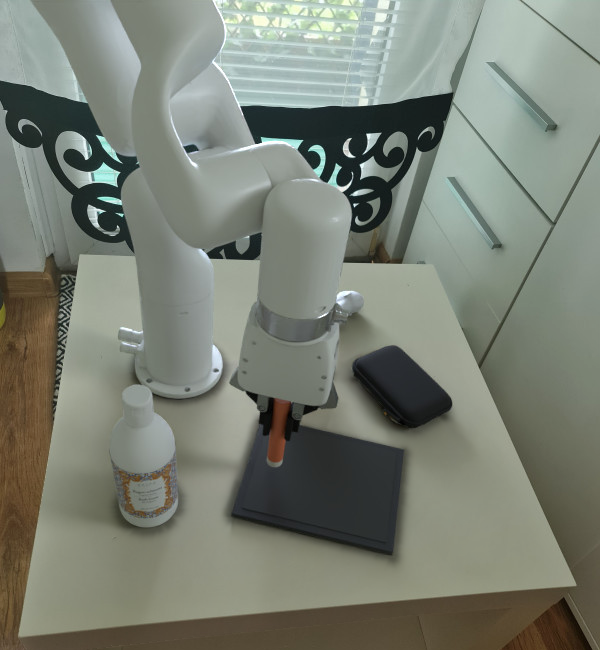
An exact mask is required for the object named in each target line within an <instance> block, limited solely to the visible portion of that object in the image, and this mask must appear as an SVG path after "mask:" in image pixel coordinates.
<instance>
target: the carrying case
mask: <svg viewBox="0 0 600 650" xmlns="http://www.w3.org/2000/svg"><path fill="white" fill-rule="evenodd" d="M351 371H352V374H353V376H354V377H355V378H356V380H358V381H359V383H360V384H361V385H362V386H363V387H364V388H365V389H366V390H367V391H368V393H370V394H371V395H372V396H373V398H374V399H375V400H376V401H377V402H378V403H379V404H380V405H381V406H382V407H383V408H384V409H382V414H383V415H384V416H385V417H386V418H387V419H389V420H391V421H393V422H394V423H396V424H397V425H401V426H403V427H406V428H409V429H413V428H414V429H416V428H417V429H418V428H420V427H422V426H423V425H425V424H427V423H430V422H431V421H434V420H435V419H437V418H439V417H441V416H443V415H445V414H446V413H449V412H450V411H451V410H452V408H453V399H452V397H451V396H450V394H449V393H448V392H447V391H446V390H445V389H444V388H443V386H441V385H440V384H439V383H438V382H437V381H436V380H435V379H434V378H433V377H432V376H431V375H429V373H428V372H427V371H426V370H425V369H423V367H422V366H420V365H419V364H418V363H417V362H416V361H415V360H414V359H413V358H412V357H411V356H410V355H409V354H408V353H407V352H405V350H403V349H402V348H401V347H399V346H398V345H395V344H391V345H386V346H383V347H380V348H379V349H376V350H374V351H371V352H369V353H366V354H364V355H362V356H360V357H357V358H356V359H354V361H353V362H352V365H351Z"/></svg>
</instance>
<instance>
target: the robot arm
mask: <svg viewBox="0 0 600 650" xmlns="http://www.w3.org/2000/svg"><path fill="white" fill-rule="evenodd" d="M29 1H30V3H31V4H32V5H33V7H34V8H35V9H36V11H37V12H38V14H39V15H40V16H41V18H42V19H43V20H44V22H45V23H46V24H47V26H48V27H49V28H50V30H51V31H52V33H53V35H54V36H55V37H56V39H57V40H58V42H59V44H60V46H61V48H62V49H63V52H64V54H65V56H66V58H67V60H68V63H69V65H70V68H71V69H72V72H73V74H74V76H75V78H76V81H77V83H78V85H79V87H80V89H81V92H82V95H83V96H84V98H85V101H86V103H87V105H88V107H89V110H90V112H91V113H92V116H93V118H94V120H95V122H96V125H97V127H98V129H99V130H100V132H101V135H102V136H103V138H104V139H105V141H106V143H107V144H108V145H109V147H110V148H111V149H112V150H113V151H114V152H115V153H116V154H118V155H120V156H123V157H136V159H137V163H138V165H139V167H138V168H136V169H135V170H133V171H132V172H130V173H129V174H128V175H127V177H126V178H125V180H124V182H123V184H122V186H121V191H120V200H121V207H122V212H123V215H124V218H125V221H126V224H127V225H126V226H127V228H128V232H129V235H130V238H131V242H132V247H133V253H134V258H135V265H136V273H137V274H136V275H137V285H138V295H139V306H140V317H141V326H142V330H141V332H140V331H136V330H134V329H131V328H127V327H123V326H122V327H119V330H118V332H117V339H118V341H121V343H120V345H119V352H122V353H125V354H132V355H135V358H134V371H135V375H136V378H137V380H138V382H139V383H140V385H144V386H146V387H148V388H149V389H150V391H151V392H152V394H155V395H157V396H160V397H164V398H168V399H178V400H179V399H189V398H194V397H197V396H201V395H203V394H204V393H206V392H209V391H210V390H211V389H212V388H213V387H215V386H216V384H217V383H218V382H219V381H220V379H221V377H222V376H223V370H224V360H223V356H222V354H221V352H220V350H219V349H218V347H217V346H215V345H214V309H215V308H214V304H215V303H214V300H215V272H214V271H215V270H214V267H213V264H212V261H211V259H210V257H209V256H208V254H207V253H206V252H205V251H204V250H210V249H215V248H218V247H221V246H224V245H227V244H230V243H233V242H237V241H238V240H239V241H240V240H242V239H245V238H247V237H248V238H249V237H251V236H253V235H257V234H259V233H261V242H260V254H259V255H260V257H259V267H258V278H257V295H256V301H255V302H254V303H253V304H252V305H251V307H250V310H249V313H248V316H247V319H246V323H245V327H244V331H243V335H242V336H243V337H242V341H241V347H240V353H239V360H238V366H237V367H236V368H235V369H234V371H233V373H232V374H231V377H230V379H229V382H228V383H229V385H230V386H232V387H234V388H235V389H237V390H239V391H241V392H245V395H246V396H247V397H248V398H250V400H251V401H252V402H254V403H255V405H256V409H257V411H258V412H259V415H258V416H259V417H258V425H260V424H261V425H263V434H262V435H263V436H267V435H269V432H270V429H271V421H272V413H273V404H274V398H277V399H282V400H286V401H291V409H290V412H289V414H288V417H287V422H286V429H285V435H284V439H286V440H285V441H290V438H291V435H292V432H297V433H298V430H299V426H300V425H301V421H302V419H303V417H304V416H306V415H308V414H311V413H314V412H315V411H318V410H319V409H320V410H330V409H331V410H332V409H336V408H337V407H338V403H339V394H338V392H337V389H336V386H335V382H334V379H335V374H336V370H337V362H338V355H339V347H340V326H339V322H341V323H342V324H345V325H346V324H347V323H348V317H349V316H348V313H349V310H346V309H342V307H339V306H338V303H336V299H337V295H338V291H339V288H340V287H339V286H340V281H341V276H342V271H343V266H344V260H345V255H346V250H347V246H348V241H349V235H350V230H351V223H352V218H353V213H352V212H353V211H352V206H351V203H350V201H349V198H348V197H347V196H346V195H345V194H344V193H343V192H342V191H341V190H340V189H339V188H338V187H336V186H334V185H332V184H330V183H328V182H325V181H323V180H322V179H321V178H320V177H319V176H318V174H317V172H316V171H315V170H314V169H313V168H312V166H311V165H310V163H308V161H307V159H305V157H304V156H303V155H302V154H301V153H300V151H299V150H298V149H296V147H294V146H293V145H291V144H289V143H288V142H285V141H282V140H281V141H280V140H272V141H271V140H270V141H265V142H262V143H258V144H257V143H256V142H255V140H254V138H253V135H252V132H251V130H250V128H249V126H248V123H247V121H246V119H245V116H244V114H243V111H242V108H241V106H240V103H239V102H238V99H237V96H236V95H235V92H234V89H233V88H232V85H231V83H230V81H229V79H228V78H227V76H226V74H225V73H224V71H223V70H222V69H221V67H219V65H218V64H217V63H216V62H215V60H216V58H217V57H218V56H219V54H220V53H221V51H222V49H223V47H224V45H225V42H226V38H227V27H226V23H225V20H224V17H223V15H222V14H221V12H220V10H219V8H218V6H217V4H216V2H215V0H29ZM191 145H194V146H195V147H196V148H197V149H198V151H197V150H196V151H192V152H187V151H186V149H185V148H184V147H186V146H191ZM132 343H133V344H137V345H133V344H132Z"/></svg>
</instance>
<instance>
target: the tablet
mask: <svg viewBox="0 0 600 650" xmlns="http://www.w3.org/2000/svg"><path fill="white" fill-rule="evenodd" d="M262 434H263V425H261V424H259V427H258V430H257V432H256V436H255V440H254V442H253V446H252V449H251V451H250V455H249V458H248V461H247V464H246V468H245V470H244V473H243V477H242V479H241V482H240V486H239V489H238V492H237V495H236V498H235V501H234V505H233V508H232V511H231V517H233V518H237V519H241V520H245V521H249V522H253V523H257V524H262V525H265V526H271V527H273V528H279V529H283V530H287V531H290V532H294V533H298V534H303V535H307V536H311V537H312V536H313V537H315V538H319V539H324V540H327V541H331V542H336V543H340V544H344V545H349V546H353V547H357V548H360V549H364V550H368V551H373V552H378V553H382V554H386V555H389V556H392V555H393V554H394V549H395V541H396V533H397V532H396V530H397V523H398V522H397V521H398V512H399V503H400V493H401V484H402V475H403V464H404V457H405V449H403V448H399V447H395V446H391V445H387V444H382V443H378V442H374V441H370V440H366V439H362V438H357V437H352V436H348V435H343V434H340V433H336V432H331V431H328V430H323V429H320V428H319V429H318V428H315V427H310V426H307V425H306V426H305V425H301V424H300V426H299V430H298V433H297V432H292V435H291V438H290V441H285V448H284V455H283V461H282V464H281V465H280V466H279V467H271V466H269V465H268V463H267V454H268V445H269V437H270V432H269V435H267V436H263V435H262Z"/></svg>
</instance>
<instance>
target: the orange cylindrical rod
mask: <svg viewBox="0 0 600 650" xmlns="http://www.w3.org/2000/svg"><path fill="white" fill-rule="evenodd" d="M291 403H292V402H291V401H286V400H282V399H277V398H274V404H273V413H272V421H271V429H270V437H269V445H268V454H267V463H268V465H269V466H271V467H279V466H280V465H281V464H282V461H283V455H284V448H285V440H286V439H284V435H285V429H286V422H287V417H288V414H289V412H290V409H291Z"/></svg>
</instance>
